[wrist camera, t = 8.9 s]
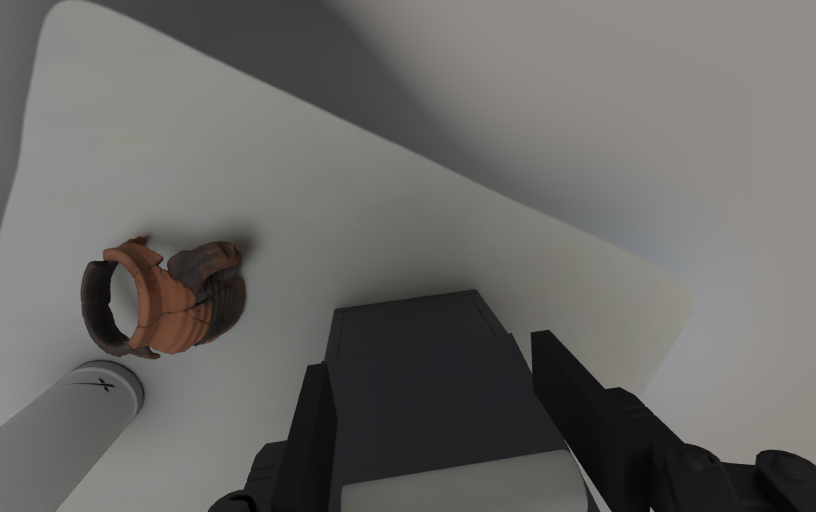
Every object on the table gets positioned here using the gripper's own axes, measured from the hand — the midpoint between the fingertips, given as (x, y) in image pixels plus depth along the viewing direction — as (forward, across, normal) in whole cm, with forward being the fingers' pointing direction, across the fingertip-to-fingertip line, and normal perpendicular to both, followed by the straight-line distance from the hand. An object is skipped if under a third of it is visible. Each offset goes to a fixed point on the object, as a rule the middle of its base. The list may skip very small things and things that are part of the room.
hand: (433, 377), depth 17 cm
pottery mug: (+19, +17, 0) cm, 25 cm away
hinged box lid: (+2, 0, +6) cm, 7 cm away
